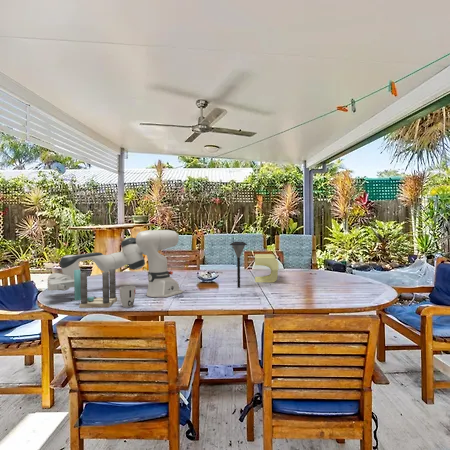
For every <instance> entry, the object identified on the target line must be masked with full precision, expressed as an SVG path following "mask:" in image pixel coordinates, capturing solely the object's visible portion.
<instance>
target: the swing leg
mask: <svg viewBox="0 0 450 450" xmlns="http://www.w3.org/2000/svg"><path fill="white" fill-rule="evenodd" d="M80 273H82V271H81V269H80V270H74V287H73V290H74V301H81V280H80ZM94 297H95V296H87V300H88V301H93V300H94Z"/></svg>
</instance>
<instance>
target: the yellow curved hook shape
mask: <svg viewBox="0 0 450 450" xmlns="http://www.w3.org/2000/svg"><path fill="white" fill-rule="evenodd" d="M276 258H277V257H276V256H275V254H273V253H259V254H258V253H255V254H254V266H263V267H267V268H269V269H270V273H269V274H268V275H263V276H255V277H254V280H255V281H254V283H275V282H277V280H278V276H279V275H278V274H279V273H278V271H279V268H280V267H279V261H278V260H277V259H276Z"/></svg>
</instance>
